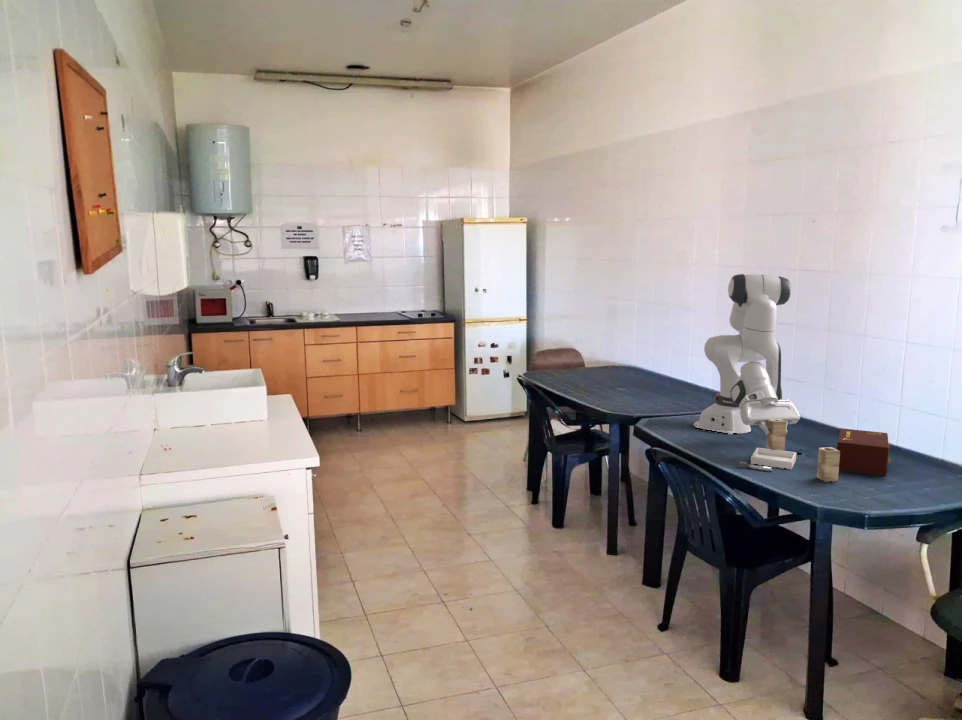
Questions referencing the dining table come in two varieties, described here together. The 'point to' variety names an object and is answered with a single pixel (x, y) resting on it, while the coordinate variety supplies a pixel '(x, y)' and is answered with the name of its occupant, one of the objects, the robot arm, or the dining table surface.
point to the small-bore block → (776, 434)
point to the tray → (773, 458)
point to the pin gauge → (754, 466)
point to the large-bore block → (828, 464)
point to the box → (863, 451)
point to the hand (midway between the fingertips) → (776, 433)
